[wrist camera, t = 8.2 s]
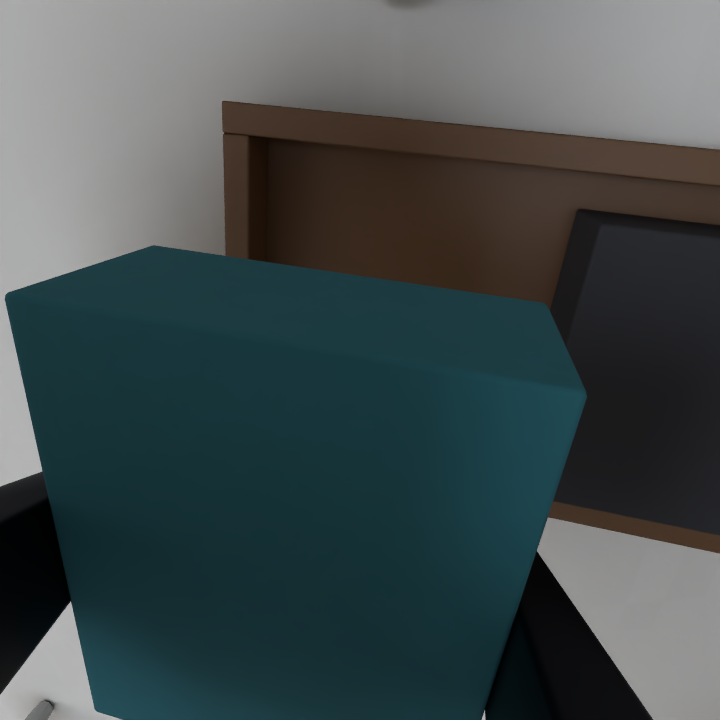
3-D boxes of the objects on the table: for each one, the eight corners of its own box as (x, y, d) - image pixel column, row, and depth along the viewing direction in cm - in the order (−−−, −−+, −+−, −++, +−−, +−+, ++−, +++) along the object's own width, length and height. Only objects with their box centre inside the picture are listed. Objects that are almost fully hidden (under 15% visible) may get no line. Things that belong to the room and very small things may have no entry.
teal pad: (455, 651, 11) (449, 822, 8) (180, 582, 12) (93, 712, 9) (548, 302, 7) (590, 393, 5) (152, 244, 8) (0, 292, 6)
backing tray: (779, 529, 17) (814, 574, 15) (250, 423, 20) (229, 450, 18) (987, 178, 12) (1074, 184, 11) (250, 105, 15) (221, 100, 14)
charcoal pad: (775, 491, 16) (835, 560, 14) (514, 441, 17) (521, 495, 15) (912, 248, 13) (1028, 276, 10) (577, 207, 14) (601, 223, 11)
